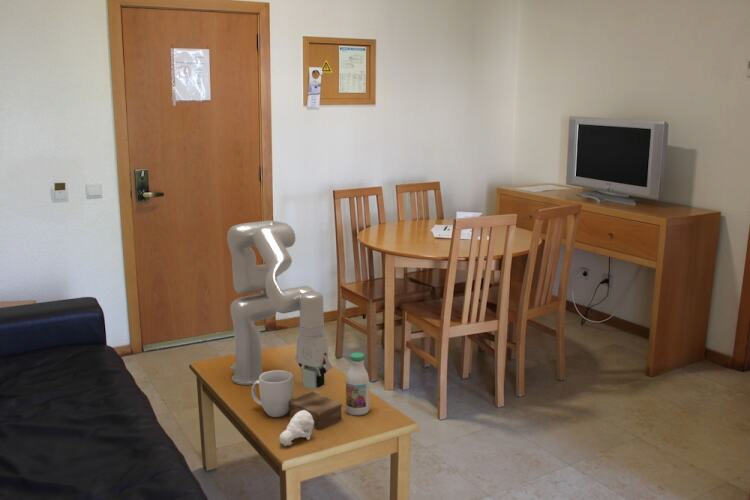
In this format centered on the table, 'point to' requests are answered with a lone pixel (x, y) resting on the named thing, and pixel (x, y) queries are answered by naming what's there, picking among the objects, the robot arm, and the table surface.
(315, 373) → the block
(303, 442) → the table surface
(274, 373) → the mug
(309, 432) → the white animal figurine
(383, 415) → the table surface
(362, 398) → the milk bottle
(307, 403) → the walnut box
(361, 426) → the table surface
